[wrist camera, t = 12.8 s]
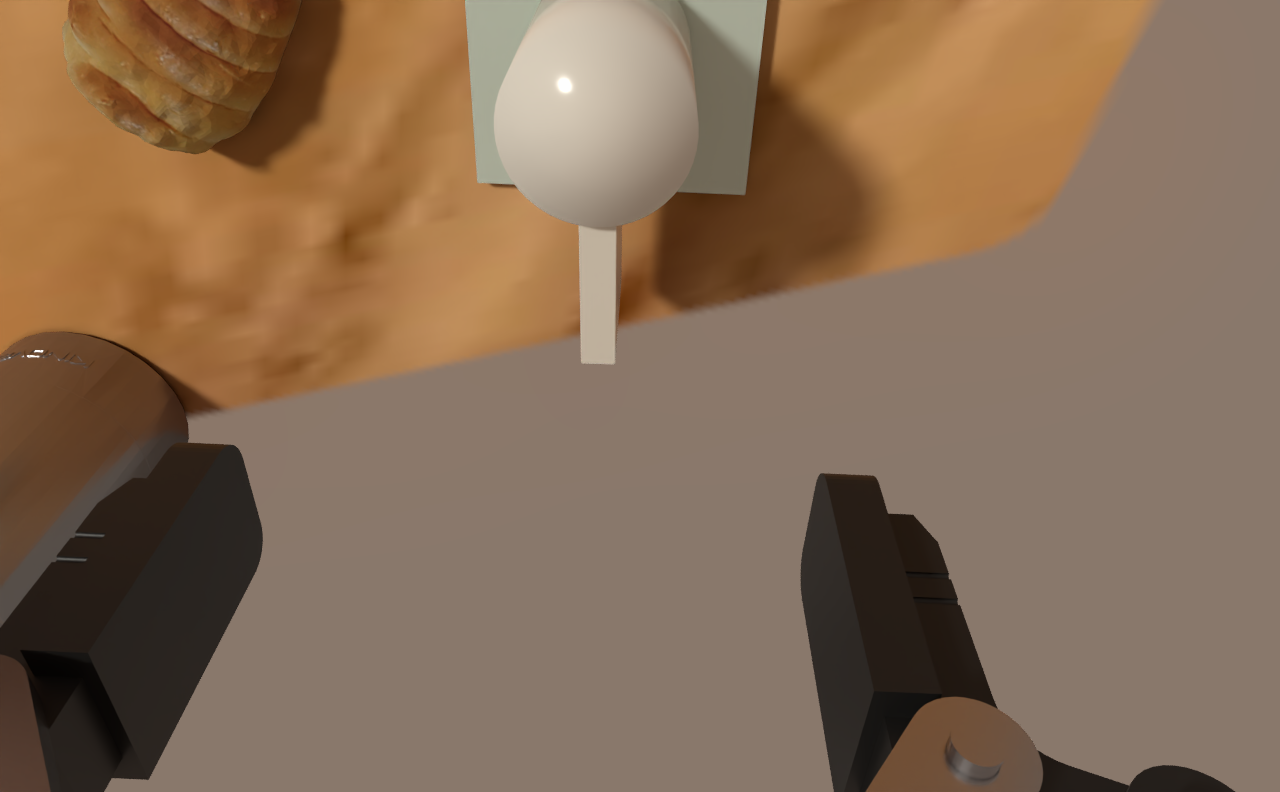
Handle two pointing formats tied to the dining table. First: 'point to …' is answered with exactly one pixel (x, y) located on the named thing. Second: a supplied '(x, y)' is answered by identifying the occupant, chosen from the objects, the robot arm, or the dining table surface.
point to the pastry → (177, 64)
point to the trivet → (723, 73)
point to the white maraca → (600, 132)
